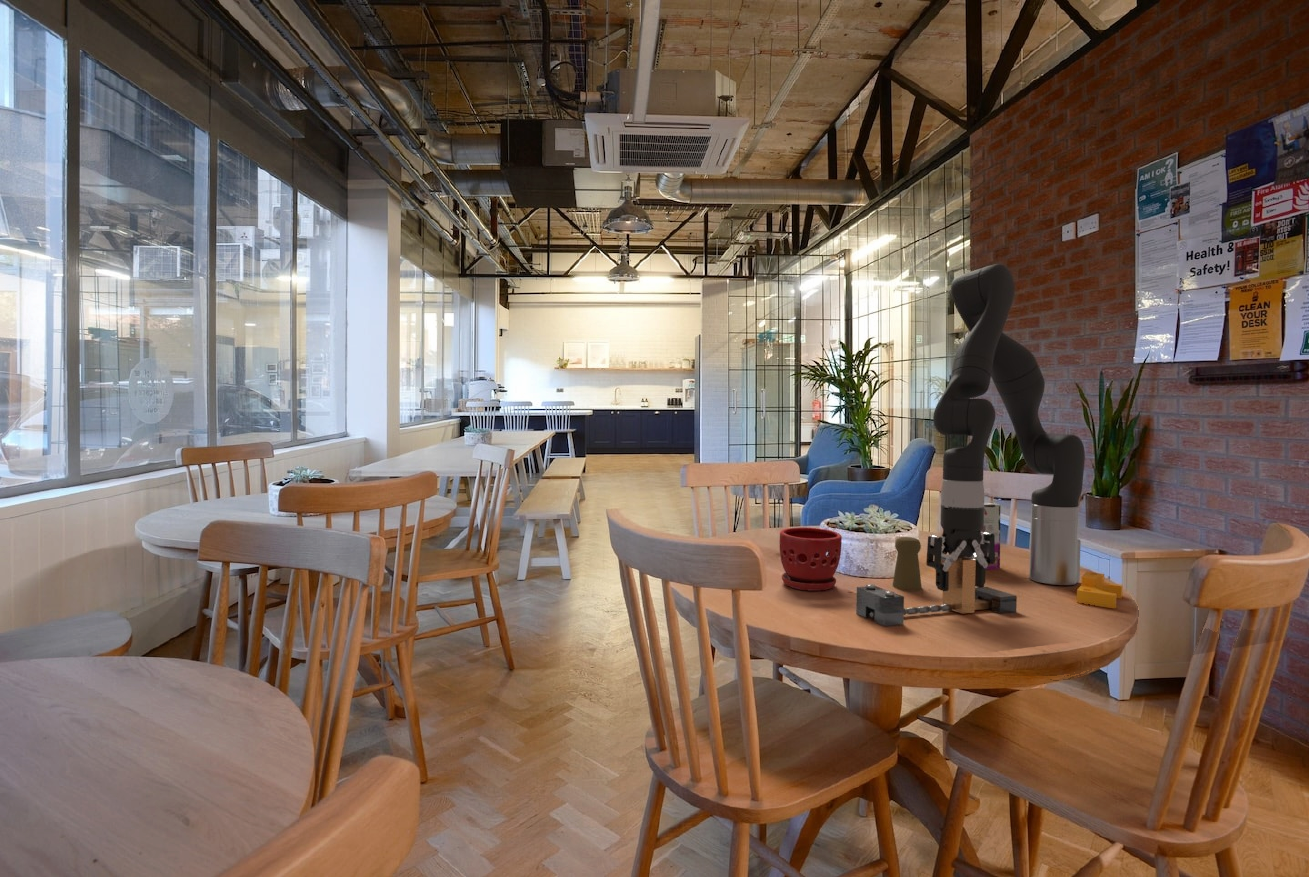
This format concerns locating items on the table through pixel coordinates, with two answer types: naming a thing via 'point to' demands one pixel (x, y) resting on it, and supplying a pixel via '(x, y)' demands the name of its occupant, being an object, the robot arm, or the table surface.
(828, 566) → the plant pot
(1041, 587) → the table surface
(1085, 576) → the yellow stand
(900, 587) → the olive keyhole shaped block
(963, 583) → the tie-down chain
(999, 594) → the hook
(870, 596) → the block
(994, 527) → the candy bar box
